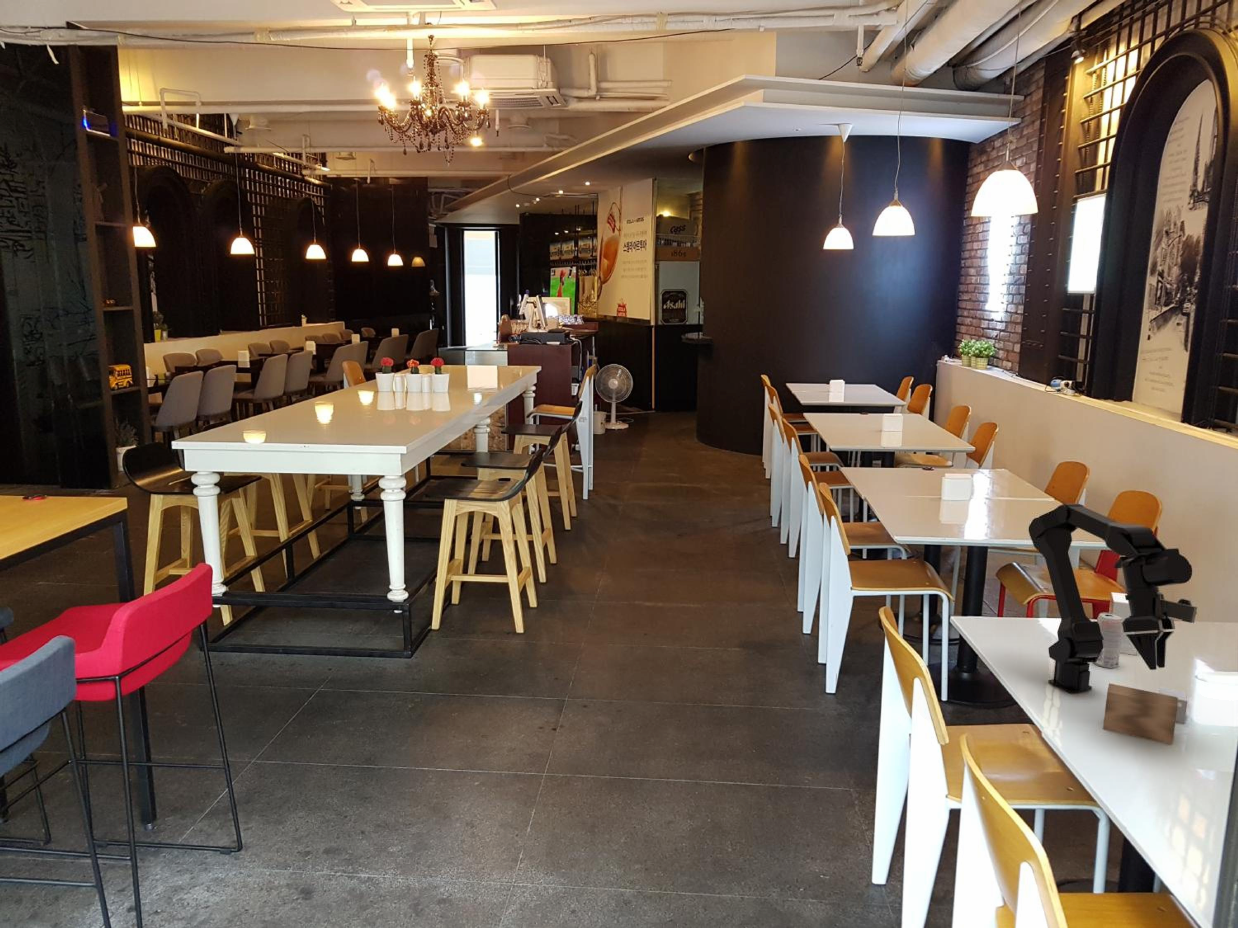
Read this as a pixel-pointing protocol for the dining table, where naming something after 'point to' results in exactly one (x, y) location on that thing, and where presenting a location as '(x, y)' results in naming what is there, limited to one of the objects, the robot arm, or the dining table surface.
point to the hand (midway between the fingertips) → (1157, 668)
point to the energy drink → (1110, 639)
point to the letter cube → (1181, 702)
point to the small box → (1122, 608)
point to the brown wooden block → (1140, 713)
